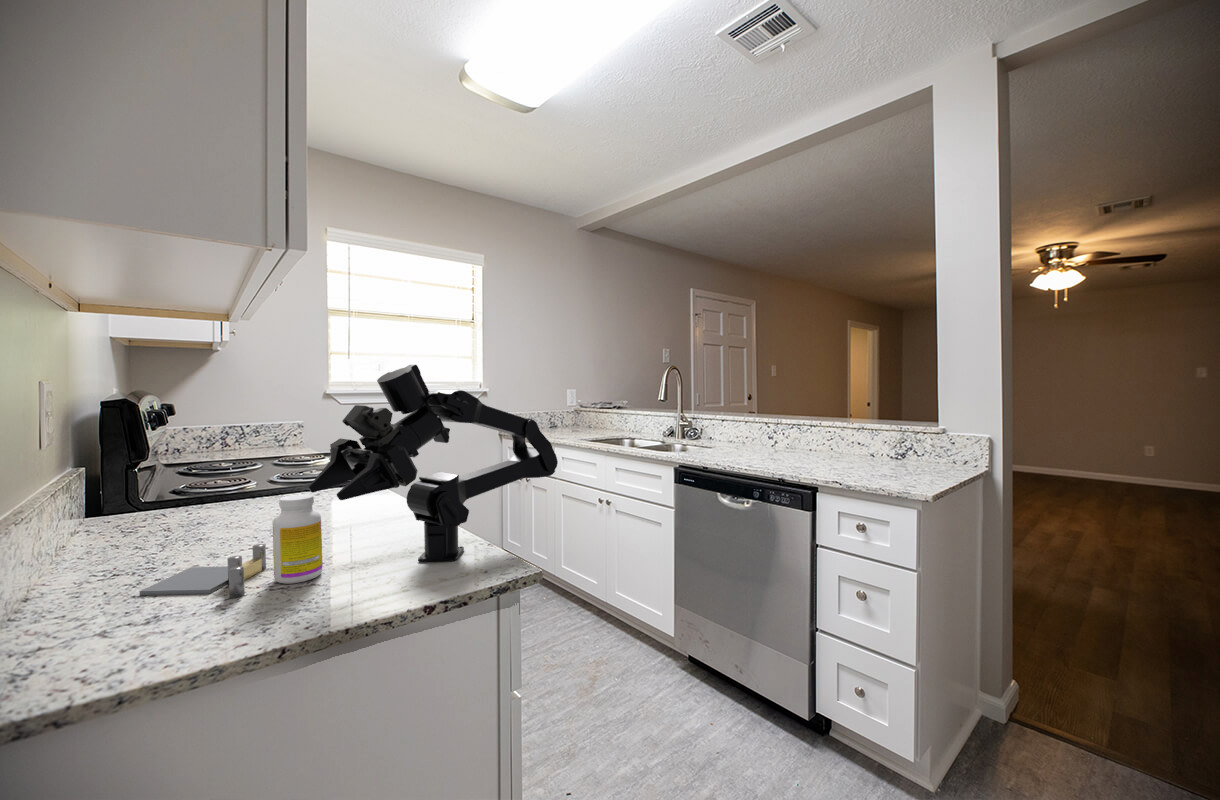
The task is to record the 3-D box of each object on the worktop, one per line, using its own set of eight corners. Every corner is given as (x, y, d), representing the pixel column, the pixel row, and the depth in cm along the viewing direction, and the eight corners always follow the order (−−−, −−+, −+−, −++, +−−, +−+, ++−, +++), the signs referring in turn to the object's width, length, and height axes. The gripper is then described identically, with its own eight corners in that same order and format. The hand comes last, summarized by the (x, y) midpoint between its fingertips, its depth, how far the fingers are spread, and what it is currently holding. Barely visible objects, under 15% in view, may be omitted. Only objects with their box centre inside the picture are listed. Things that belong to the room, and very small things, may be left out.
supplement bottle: (331, 574, 84) (329, 495, 84) (287, 588, 79) (285, 503, 78) (308, 567, 88) (306, 491, 87) (265, 579, 82) (263, 498, 82)
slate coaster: (191, 570, 86) (191, 567, 86) (253, 569, 87) (253, 565, 87) (139, 595, 76) (139, 591, 76) (210, 593, 77) (210, 589, 77)
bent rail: (257, 567, 88) (256, 543, 88) (289, 566, 88) (289, 543, 88) (201, 598, 75) (200, 571, 75) (239, 597, 75) (238, 570, 75)
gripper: (356, 393, 90) (268, 444, 79) (417, 394, 79) (323, 453, 68) (387, 447, 95) (307, 501, 84) (449, 454, 83) (365, 519, 72)
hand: (323, 493), depth 77 cm, fingers open, 9 cm apart
